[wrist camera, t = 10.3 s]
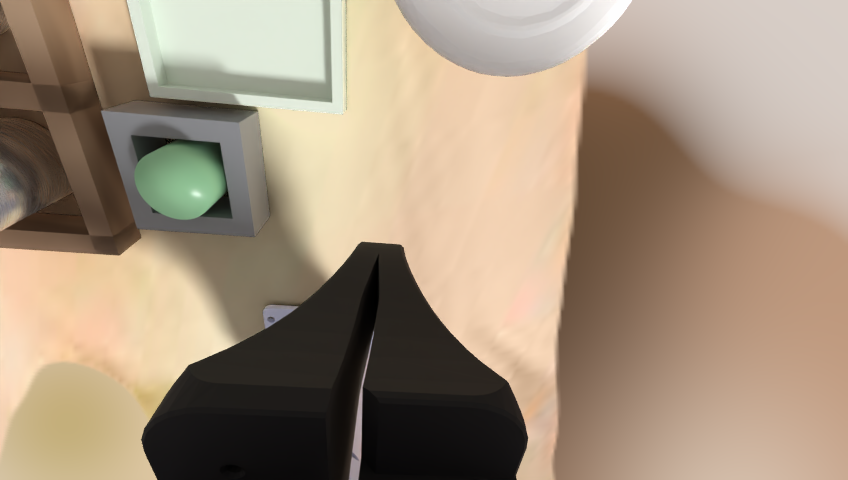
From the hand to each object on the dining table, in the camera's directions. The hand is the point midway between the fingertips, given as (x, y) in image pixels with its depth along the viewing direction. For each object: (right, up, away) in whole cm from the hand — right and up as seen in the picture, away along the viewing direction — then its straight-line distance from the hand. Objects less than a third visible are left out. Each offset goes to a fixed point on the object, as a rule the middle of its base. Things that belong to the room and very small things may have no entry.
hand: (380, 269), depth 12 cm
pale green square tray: (-7, +12, +5) cm, 14 cm away
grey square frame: (-10, +5, +9) cm, 14 cm away
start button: (-10, +5, +8) cm, 14 cm away
